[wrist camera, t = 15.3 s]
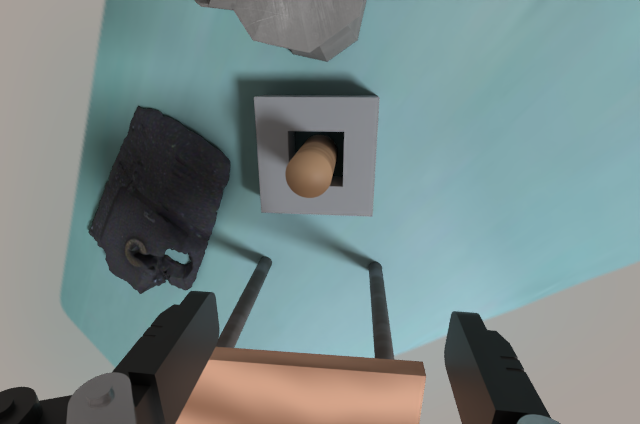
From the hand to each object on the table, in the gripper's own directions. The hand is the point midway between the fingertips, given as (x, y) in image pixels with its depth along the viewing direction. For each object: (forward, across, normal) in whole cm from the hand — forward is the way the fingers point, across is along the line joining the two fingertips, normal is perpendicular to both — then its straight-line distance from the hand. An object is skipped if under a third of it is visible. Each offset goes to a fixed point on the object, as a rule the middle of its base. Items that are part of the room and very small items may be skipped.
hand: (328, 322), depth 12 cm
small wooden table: (+29, +3, +12) cm, 31 cm away
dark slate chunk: (+29, +23, +8) cm, 38 cm away
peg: (+29, +3, 0) cm, 29 cm away
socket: (+29, +3, 0) cm, 29 cm away
